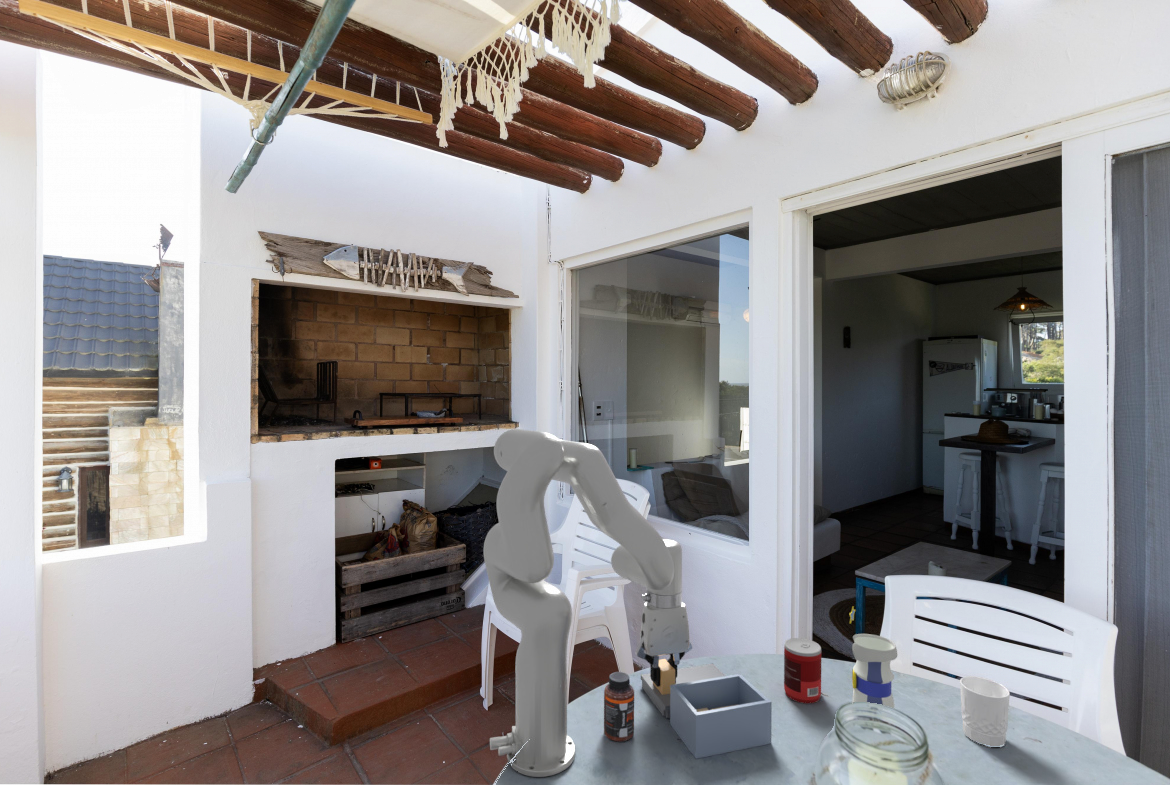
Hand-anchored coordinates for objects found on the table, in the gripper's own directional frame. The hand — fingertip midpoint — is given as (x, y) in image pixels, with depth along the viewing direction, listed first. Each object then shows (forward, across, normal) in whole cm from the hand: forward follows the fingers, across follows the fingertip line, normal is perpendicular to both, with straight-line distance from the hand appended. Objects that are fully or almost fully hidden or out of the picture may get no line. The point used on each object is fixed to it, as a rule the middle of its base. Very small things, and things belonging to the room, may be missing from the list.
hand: (663, 681), depth 122 cm
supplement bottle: (+4, -13, -8) cm, 16 cm away
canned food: (+4, +31, -6) cm, 32 cm away
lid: (+4, +7, 0) cm, 8 cm away
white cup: (+4, +55, -30) cm, 62 cm away
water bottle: (+4, +33, -24) cm, 41 cm away
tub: (+4, +6, -14) cm, 16 cm away
